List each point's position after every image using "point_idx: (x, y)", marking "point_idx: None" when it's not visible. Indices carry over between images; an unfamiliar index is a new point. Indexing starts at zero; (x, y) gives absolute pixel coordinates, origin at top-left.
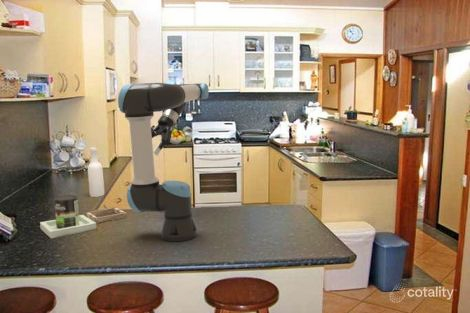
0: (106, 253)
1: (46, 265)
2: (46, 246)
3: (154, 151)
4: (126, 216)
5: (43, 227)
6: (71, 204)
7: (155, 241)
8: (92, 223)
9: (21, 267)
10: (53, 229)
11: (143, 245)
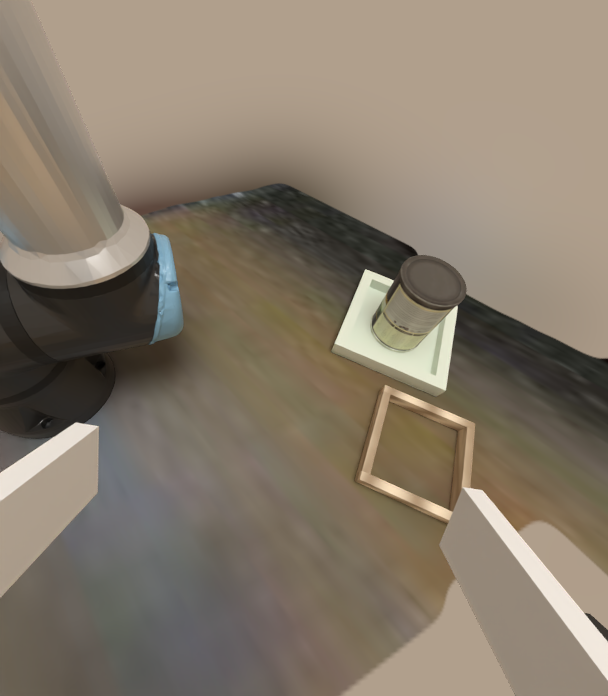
0: (183, 253)
1: (243, 202)
2: (324, 250)
3: (67, 428)
4: (356, 479)
5: None
6: (395, 282)
7: None
8: (340, 338)
9: (272, 192)
10: None
11: None
